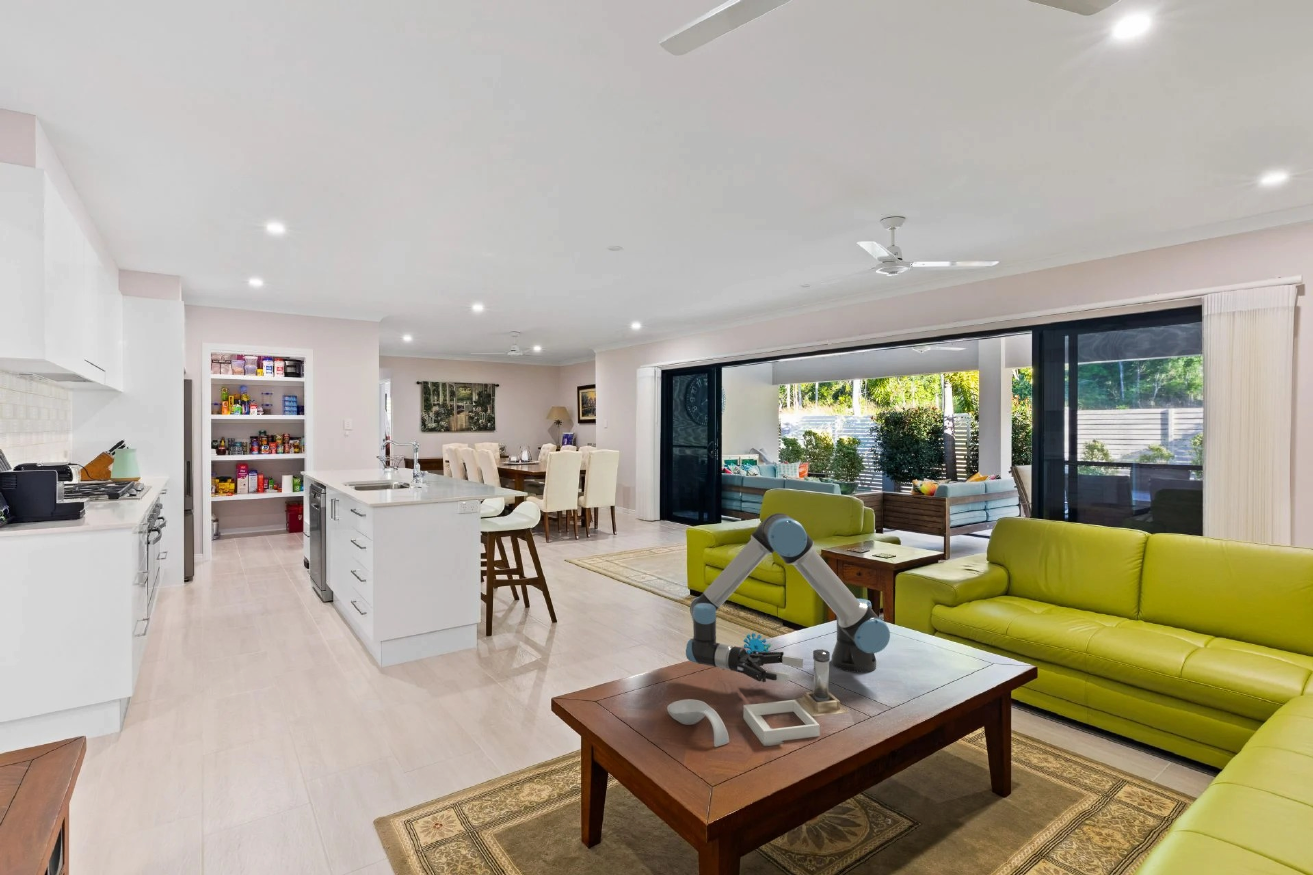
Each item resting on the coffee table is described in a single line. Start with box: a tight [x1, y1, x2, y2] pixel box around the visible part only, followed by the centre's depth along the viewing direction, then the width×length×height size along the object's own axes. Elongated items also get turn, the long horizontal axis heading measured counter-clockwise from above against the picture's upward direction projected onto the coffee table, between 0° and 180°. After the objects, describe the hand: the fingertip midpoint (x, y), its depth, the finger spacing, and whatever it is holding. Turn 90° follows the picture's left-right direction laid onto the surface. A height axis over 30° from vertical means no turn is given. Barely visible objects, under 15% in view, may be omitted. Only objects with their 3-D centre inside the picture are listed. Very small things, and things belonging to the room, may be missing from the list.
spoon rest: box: [666, 698, 730, 748], centre depth 182 cm, size 24×12×7 cm, turn 30°
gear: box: [743, 632, 772, 654], centre depth 236 cm, size 11×6×10 cm
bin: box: [742, 699, 821, 747], centre depth 180 cm, size 16×16×4 cm
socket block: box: [794, 691, 850, 717], centre depth 193 cm, size 12×12×4 cm
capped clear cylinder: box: [812, 649, 831, 702], centre depth 192 cm, size 5×5×16 cm
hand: (795, 670), depth 196 cm, fingers open, 13 cm apart
